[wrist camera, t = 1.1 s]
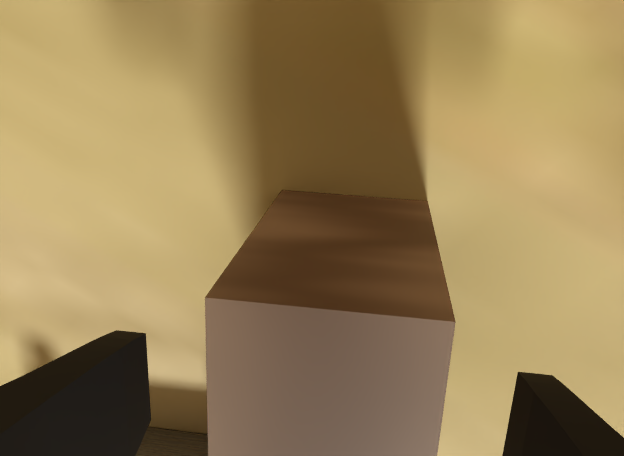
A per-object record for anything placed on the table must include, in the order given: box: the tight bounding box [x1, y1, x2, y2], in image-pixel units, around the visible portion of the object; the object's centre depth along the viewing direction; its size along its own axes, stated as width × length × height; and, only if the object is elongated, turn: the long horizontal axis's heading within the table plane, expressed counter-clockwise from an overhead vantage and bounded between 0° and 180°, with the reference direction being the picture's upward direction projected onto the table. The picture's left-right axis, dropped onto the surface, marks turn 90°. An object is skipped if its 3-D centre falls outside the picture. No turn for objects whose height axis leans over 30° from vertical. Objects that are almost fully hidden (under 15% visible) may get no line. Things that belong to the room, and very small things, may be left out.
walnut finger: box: [205, 190, 455, 456], centre depth 13 cm, size 4×6×7 cm
